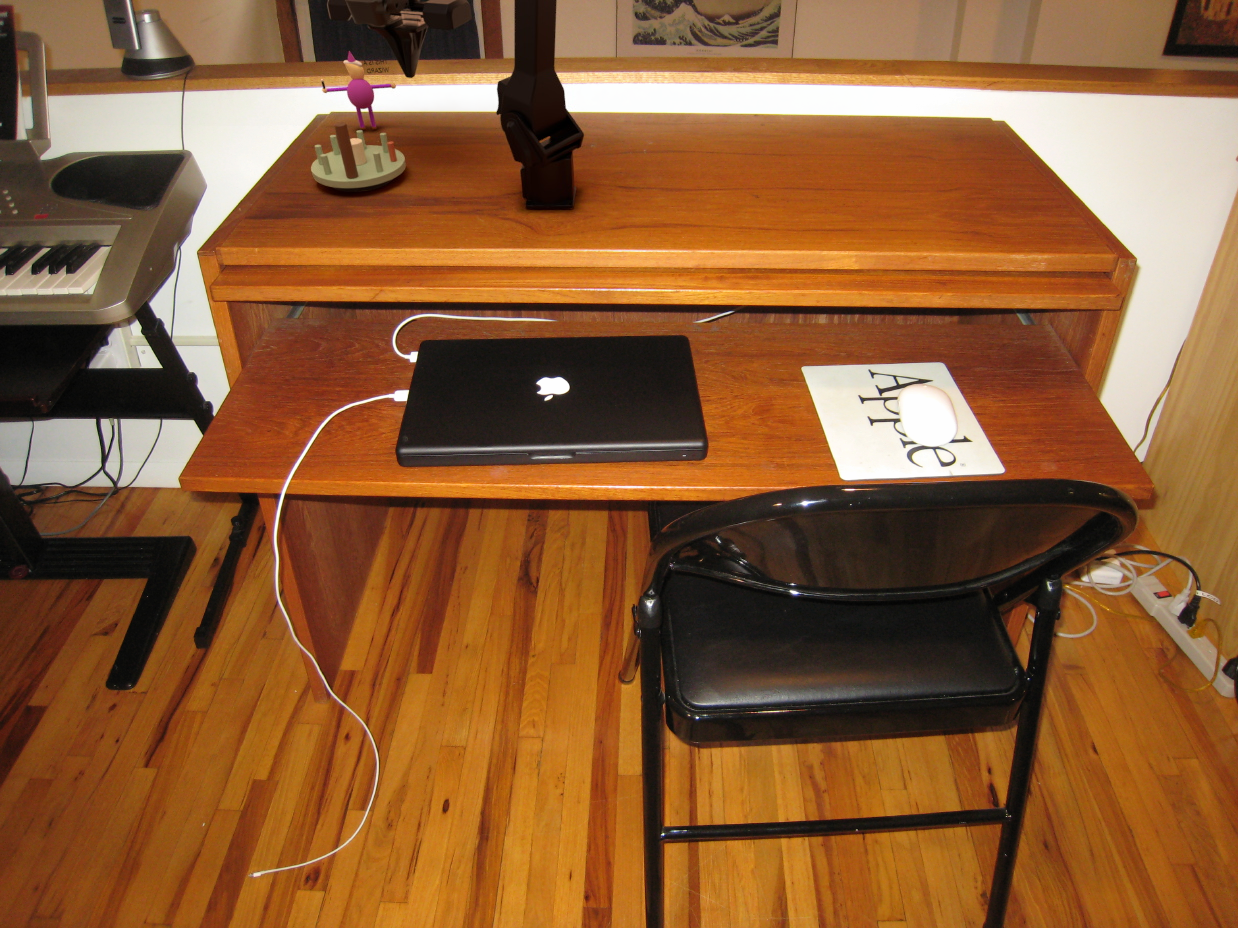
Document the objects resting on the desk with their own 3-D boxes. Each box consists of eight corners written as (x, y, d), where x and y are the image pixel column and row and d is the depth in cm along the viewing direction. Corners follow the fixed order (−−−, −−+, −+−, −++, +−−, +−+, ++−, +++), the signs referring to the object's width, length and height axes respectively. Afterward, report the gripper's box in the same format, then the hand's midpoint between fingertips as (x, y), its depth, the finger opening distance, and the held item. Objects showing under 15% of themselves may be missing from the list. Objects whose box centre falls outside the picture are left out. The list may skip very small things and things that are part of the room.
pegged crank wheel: (322, 154, 121) (307, 97, 115) (410, 150, 122) (400, 93, 116) (304, 190, 111) (287, 130, 106) (400, 186, 112) (388, 126, 106)
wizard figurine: (403, 125, 133) (389, 45, 125) (403, 132, 131) (388, 51, 123) (333, 130, 132) (313, 50, 124) (331, 137, 130) (311, 56, 122)
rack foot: (400, 166, 121) (398, 159, 120) (385, 192, 114) (383, 184, 113) (339, 166, 121) (338, 159, 120) (321, 192, 114) (319, 184, 113)
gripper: (286, -45, 100) (319, 88, 110) (420, -36, 95) (441, 103, 105) (339, -62, 108) (365, 65, 118) (465, -55, 103) (480, 77, 113)
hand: (410, 77), depth 114 cm, fingers closed
